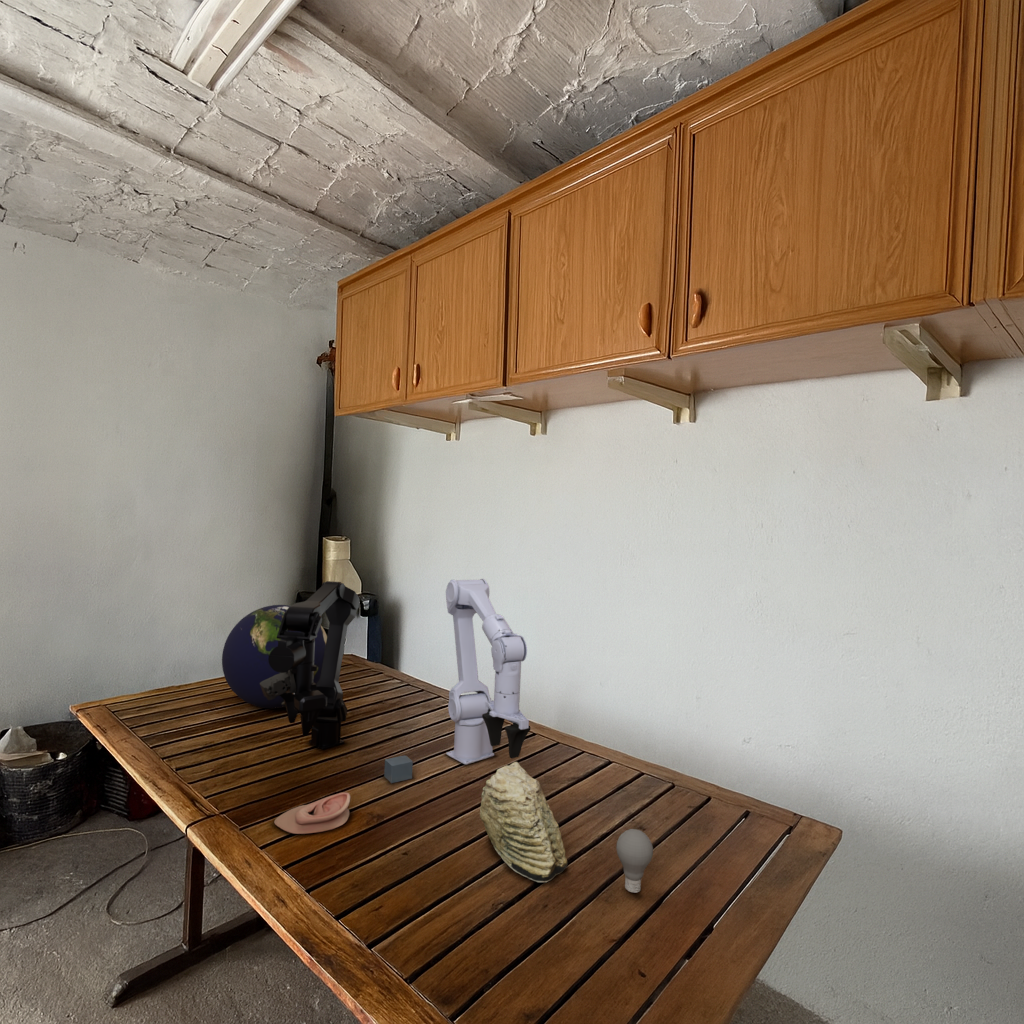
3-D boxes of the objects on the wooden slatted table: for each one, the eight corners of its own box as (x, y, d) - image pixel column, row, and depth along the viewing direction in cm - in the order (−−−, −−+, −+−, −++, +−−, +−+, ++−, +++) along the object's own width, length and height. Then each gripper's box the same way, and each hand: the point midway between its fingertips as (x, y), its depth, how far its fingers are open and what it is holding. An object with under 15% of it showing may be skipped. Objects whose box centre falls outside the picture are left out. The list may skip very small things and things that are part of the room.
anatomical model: (265, 808, 120) (298, 782, 131) (265, 829, 120) (297, 801, 131) (330, 818, 117) (357, 791, 128) (329, 840, 117) (357, 810, 128)
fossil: (501, 827, 124) (504, 751, 124) (575, 868, 111) (578, 784, 111) (467, 843, 118) (470, 763, 118) (541, 889, 105) (545, 799, 105)
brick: (384, 776, 145) (384, 759, 145) (404, 771, 148) (405, 754, 148) (391, 783, 141) (392, 765, 141) (412, 778, 144) (412, 761, 144)
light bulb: (610, 879, 108) (613, 822, 108) (644, 879, 109) (647, 822, 109) (619, 902, 102) (622, 840, 102) (655, 901, 103) (658, 840, 103)
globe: (289, 685, 209) (292, 594, 208) (348, 705, 191) (352, 606, 191) (199, 706, 185) (203, 604, 184) (258, 732, 167) (262, 619, 167)
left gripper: (252, 656, 147) (250, 722, 147) (277, 675, 132) (274, 750, 132) (300, 650, 154) (298, 714, 154) (329, 669, 139) (326, 739, 139)
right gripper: (474, 684, 145) (472, 743, 145) (510, 702, 133) (507, 766, 133) (500, 680, 149) (498, 737, 149) (537, 697, 137) (534, 760, 137)
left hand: (298, 729), depth 145 cm, fingers open, 9 cm apart
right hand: (504, 751), depth 141 cm, fingers open, 7 cm apart
